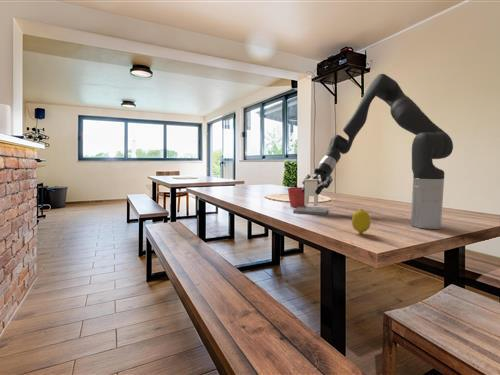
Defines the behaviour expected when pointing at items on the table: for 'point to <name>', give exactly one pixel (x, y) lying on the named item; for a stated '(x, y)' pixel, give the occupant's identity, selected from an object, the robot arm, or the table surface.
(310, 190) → the stool
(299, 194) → the flower pot
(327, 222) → the table surface
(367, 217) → the lemon
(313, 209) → the trivet
